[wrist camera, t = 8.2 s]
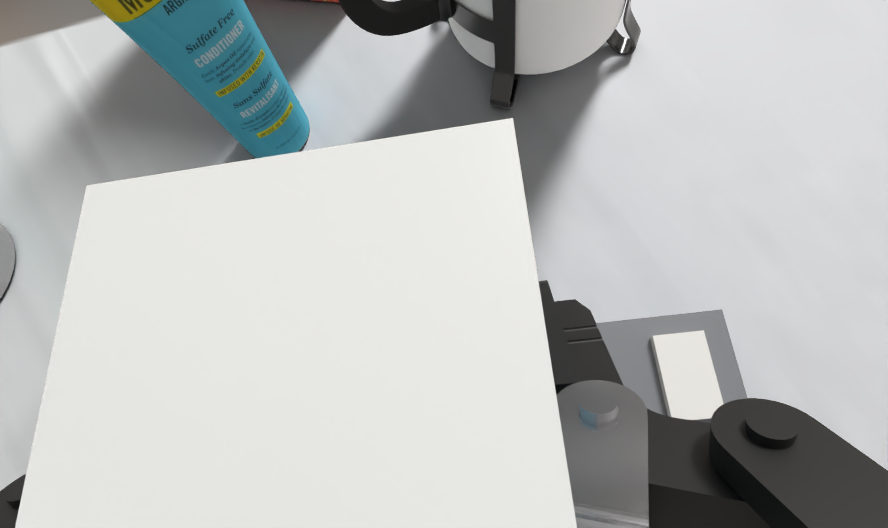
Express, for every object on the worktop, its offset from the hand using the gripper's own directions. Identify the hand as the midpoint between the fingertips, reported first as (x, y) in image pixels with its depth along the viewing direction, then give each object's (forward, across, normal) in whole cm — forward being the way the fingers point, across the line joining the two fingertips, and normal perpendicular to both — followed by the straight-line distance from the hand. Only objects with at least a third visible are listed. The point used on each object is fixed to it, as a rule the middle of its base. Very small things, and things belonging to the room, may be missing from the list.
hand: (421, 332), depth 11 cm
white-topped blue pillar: (+2, 0, +5) cm, 6 cm away
